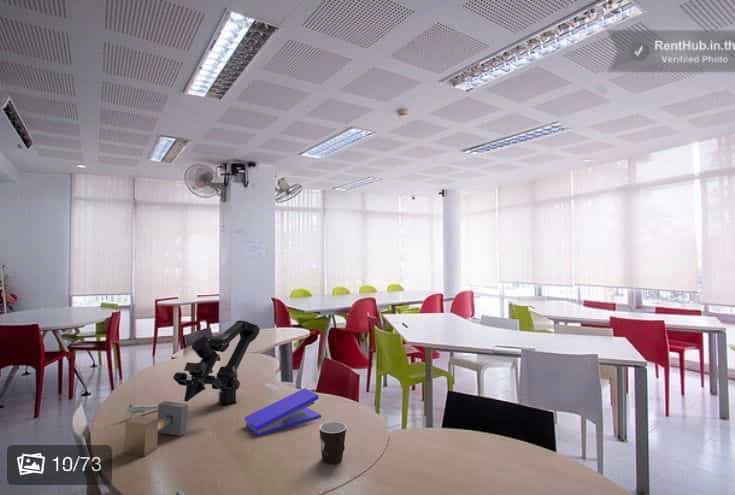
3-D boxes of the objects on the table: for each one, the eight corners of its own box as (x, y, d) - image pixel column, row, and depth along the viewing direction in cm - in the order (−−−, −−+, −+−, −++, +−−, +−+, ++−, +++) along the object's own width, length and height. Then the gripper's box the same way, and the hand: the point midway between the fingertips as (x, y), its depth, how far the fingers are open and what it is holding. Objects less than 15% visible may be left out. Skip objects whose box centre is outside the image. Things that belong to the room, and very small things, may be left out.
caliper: (126, 422, 145) (127, 405, 146) (125, 421, 146) (126, 405, 146) (175, 405, 163) (176, 391, 163) (174, 405, 164) (174, 390, 164)
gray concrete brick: (163, 428, 138) (164, 401, 139) (186, 432, 136) (187, 404, 136) (157, 432, 135) (158, 403, 136) (180, 435, 133) (181, 407, 133)
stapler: (321, 418, 152) (322, 393, 153) (256, 438, 134) (257, 409, 134) (306, 410, 161) (307, 386, 162) (243, 427, 142) (244, 401, 143)
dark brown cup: (319, 452, 123) (320, 421, 124) (345, 452, 124) (346, 421, 125) (317, 472, 112) (318, 437, 112) (346, 471, 112) (347, 437, 113)
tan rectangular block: (163, 431, 137) (164, 403, 137) (182, 434, 135) (183, 406, 135) (123, 453, 121) (125, 421, 121) (144, 456, 119) (145, 424, 119)
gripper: (177, 351, 151) (154, 387, 139) (218, 355, 146) (197, 392, 134) (190, 366, 158) (169, 402, 146) (229, 370, 153) (210, 407, 142)
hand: (185, 401), depth 142 cm, fingers closed
